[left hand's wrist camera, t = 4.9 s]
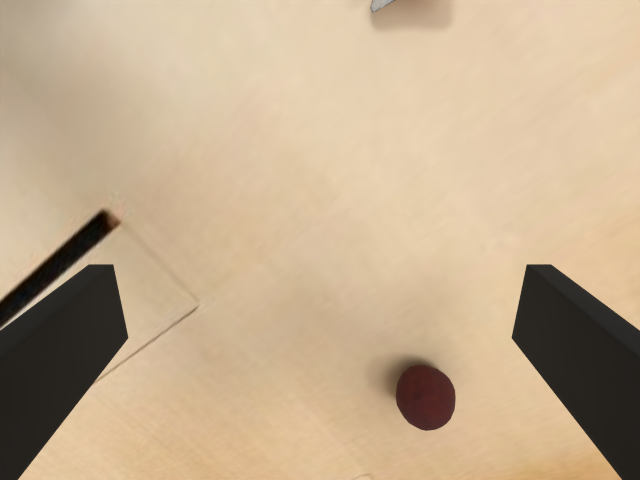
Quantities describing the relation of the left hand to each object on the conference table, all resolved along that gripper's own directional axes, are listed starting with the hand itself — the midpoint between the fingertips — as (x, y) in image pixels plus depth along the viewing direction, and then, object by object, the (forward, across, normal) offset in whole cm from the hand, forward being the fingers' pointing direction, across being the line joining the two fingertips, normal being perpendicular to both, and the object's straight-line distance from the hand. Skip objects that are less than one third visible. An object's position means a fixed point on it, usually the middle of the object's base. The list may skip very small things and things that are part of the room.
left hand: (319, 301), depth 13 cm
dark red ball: (+31, +13, -29) cm, 45 cm away
